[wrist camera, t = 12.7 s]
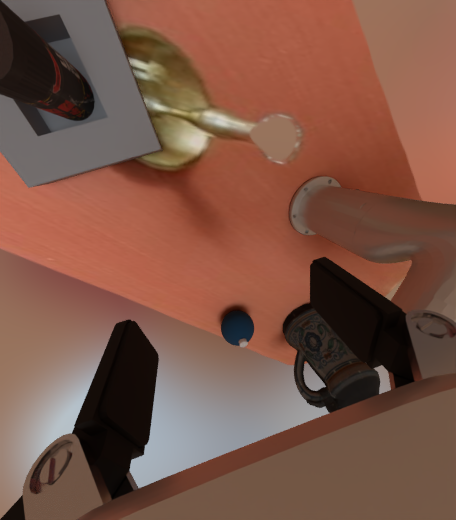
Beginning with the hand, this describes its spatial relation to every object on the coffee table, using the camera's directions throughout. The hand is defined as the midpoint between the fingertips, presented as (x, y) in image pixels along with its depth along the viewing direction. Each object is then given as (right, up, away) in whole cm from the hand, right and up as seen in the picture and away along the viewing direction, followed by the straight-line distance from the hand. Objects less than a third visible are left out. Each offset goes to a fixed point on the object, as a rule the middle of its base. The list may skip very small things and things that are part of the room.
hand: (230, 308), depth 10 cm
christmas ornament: (+1, -13, +42) cm, 44 cm away
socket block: (-21, +25, +15) cm, 36 cm away
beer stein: (+24, -18, +51) cm, 59 cm away
